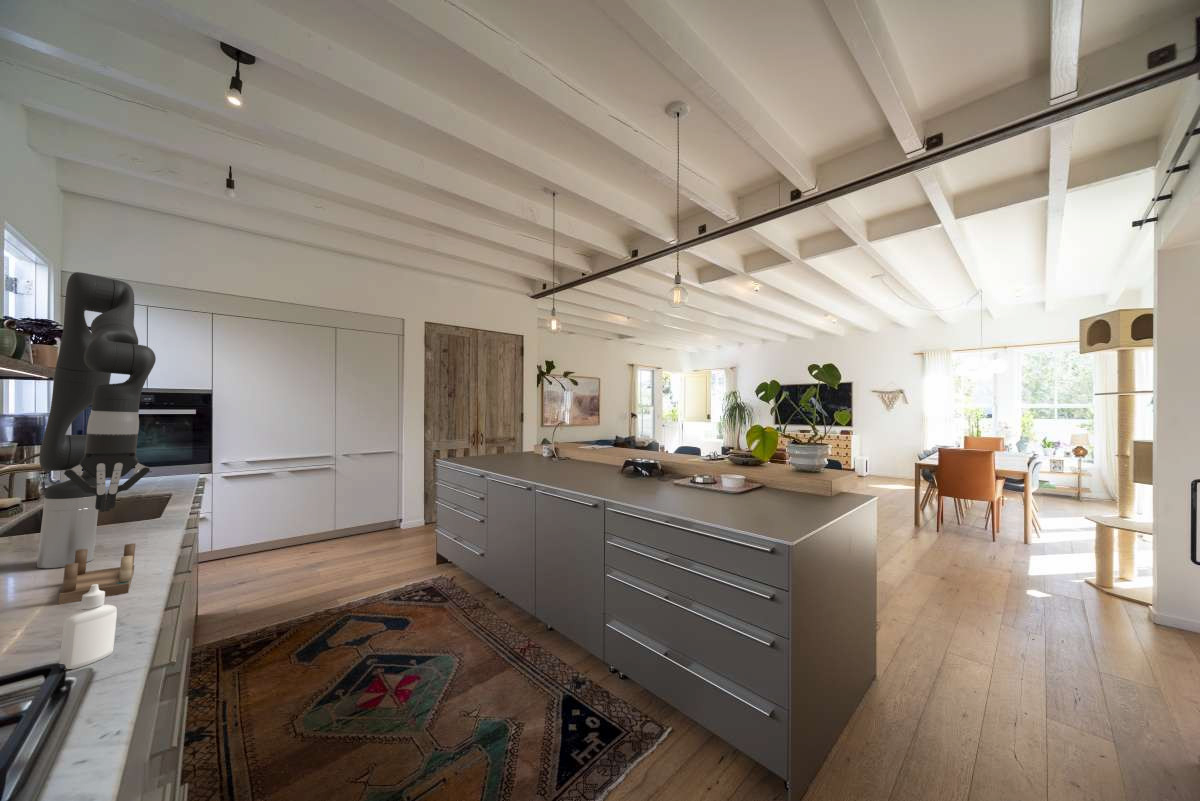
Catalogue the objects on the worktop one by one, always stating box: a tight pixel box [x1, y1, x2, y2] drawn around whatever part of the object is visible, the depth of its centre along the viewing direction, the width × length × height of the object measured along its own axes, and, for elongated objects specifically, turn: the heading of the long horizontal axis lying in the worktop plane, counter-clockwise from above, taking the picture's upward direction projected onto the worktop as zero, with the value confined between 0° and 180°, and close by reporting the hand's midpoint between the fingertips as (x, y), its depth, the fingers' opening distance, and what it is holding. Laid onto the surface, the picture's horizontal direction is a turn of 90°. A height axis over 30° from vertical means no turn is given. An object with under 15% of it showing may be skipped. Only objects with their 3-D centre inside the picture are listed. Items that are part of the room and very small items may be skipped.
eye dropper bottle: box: [58, 584, 118, 670], centre depth 69 cm, size 4×6×12 cm
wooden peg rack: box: [58, 543, 136, 605], centre depth 97 cm, size 16×10×8 cm, turn 44°
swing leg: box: [119, 555, 134, 582], centre depth 99 cm, size 11×2×5 cm, turn 46°
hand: (104, 511), depth 94 cm, fingers closed
